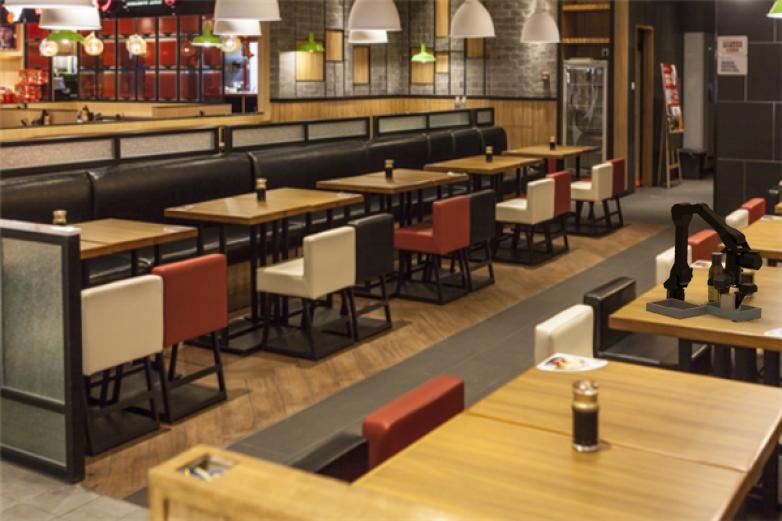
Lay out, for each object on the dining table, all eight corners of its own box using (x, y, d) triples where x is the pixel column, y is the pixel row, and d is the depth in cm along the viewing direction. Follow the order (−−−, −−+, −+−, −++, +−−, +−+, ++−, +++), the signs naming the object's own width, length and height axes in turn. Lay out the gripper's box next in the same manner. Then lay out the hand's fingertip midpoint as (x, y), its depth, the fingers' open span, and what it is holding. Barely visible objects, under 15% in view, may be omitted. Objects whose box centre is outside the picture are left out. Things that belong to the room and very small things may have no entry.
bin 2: (700, 313, 378) (700, 304, 377) (724, 308, 385) (725, 299, 385) (736, 322, 364) (737, 312, 364) (761, 317, 371) (761, 308, 371)
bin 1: (645, 311, 381) (646, 302, 380) (671, 307, 388) (671, 298, 388) (679, 320, 367) (680, 311, 367) (705, 315, 374) (705, 306, 374)
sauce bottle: (722, 301, 398) (725, 251, 394) (725, 305, 392) (728, 254, 388) (705, 301, 399) (707, 251, 395) (708, 304, 392) (711, 254, 389)
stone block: (720, 309, 375) (721, 294, 374) (729, 308, 378) (730, 292, 377) (731, 312, 371) (732, 296, 370) (740, 310, 374) (741, 294, 373)
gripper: (698, 264, 375) (696, 305, 378) (739, 272, 359) (736, 315, 362) (718, 261, 381) (716, 301, 384) (759, 269, 365) (757, 311, 368)
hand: (730, 307), depth 374 cm, fingers closed on stone block, 5 cm apart
